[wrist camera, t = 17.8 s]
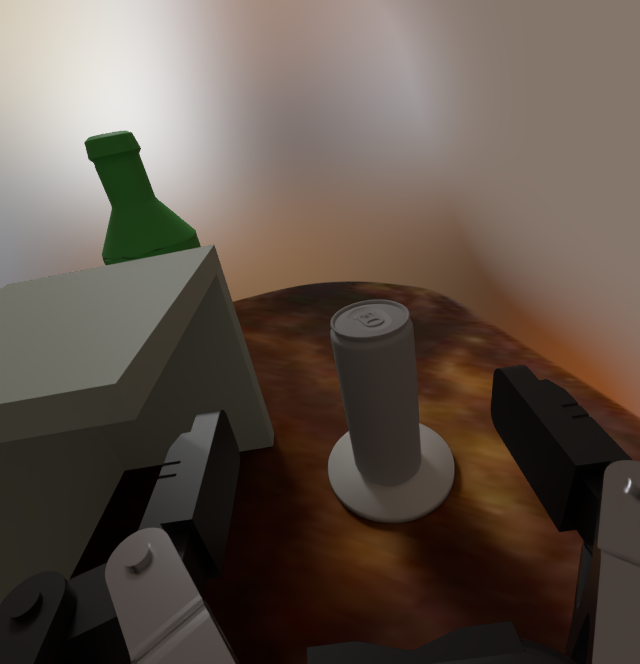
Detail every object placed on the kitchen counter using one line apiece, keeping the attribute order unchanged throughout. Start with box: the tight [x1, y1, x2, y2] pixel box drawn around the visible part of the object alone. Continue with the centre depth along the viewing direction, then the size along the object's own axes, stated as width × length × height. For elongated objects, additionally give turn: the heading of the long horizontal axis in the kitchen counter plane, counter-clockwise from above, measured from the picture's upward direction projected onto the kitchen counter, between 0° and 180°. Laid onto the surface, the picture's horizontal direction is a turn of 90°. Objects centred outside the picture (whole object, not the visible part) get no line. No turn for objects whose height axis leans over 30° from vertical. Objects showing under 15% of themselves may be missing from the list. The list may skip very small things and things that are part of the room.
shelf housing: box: [0, 245, 274, 603], centre depth 23 cm, size 16×14×17 cm
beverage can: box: [331, 300, 421, 486], centre depth 25 cm, size 5×5×12 cm
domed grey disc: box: [328, 423, 454, 523], centre depth 28 cm, size 9×9×1 cm
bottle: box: [85, 131, 201, 265], centre depth 39 cm, size 9×9×25 cm
